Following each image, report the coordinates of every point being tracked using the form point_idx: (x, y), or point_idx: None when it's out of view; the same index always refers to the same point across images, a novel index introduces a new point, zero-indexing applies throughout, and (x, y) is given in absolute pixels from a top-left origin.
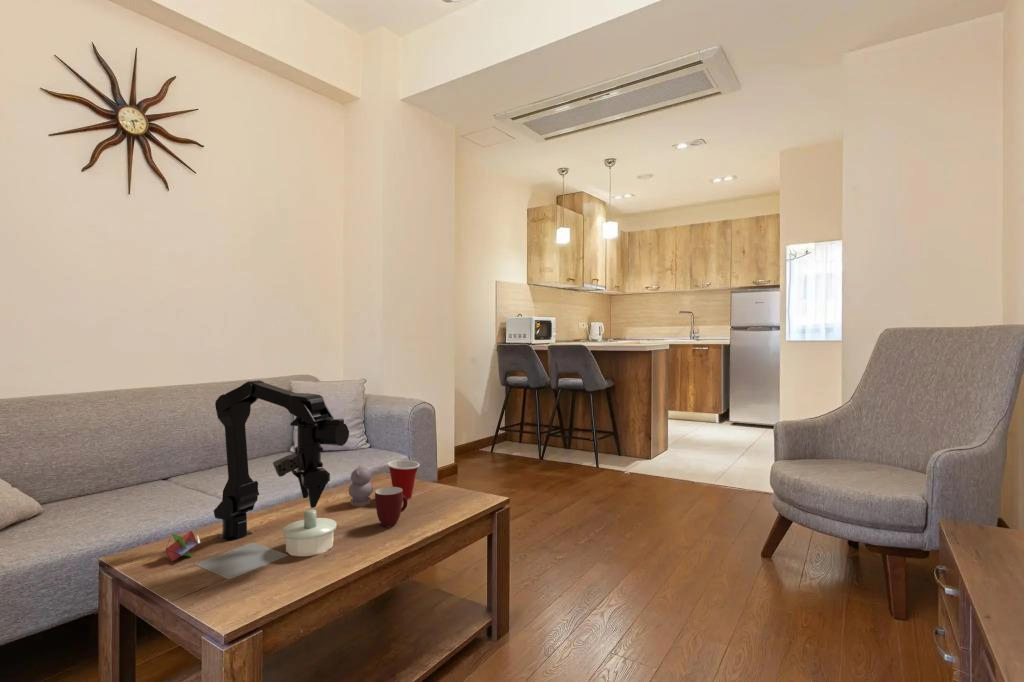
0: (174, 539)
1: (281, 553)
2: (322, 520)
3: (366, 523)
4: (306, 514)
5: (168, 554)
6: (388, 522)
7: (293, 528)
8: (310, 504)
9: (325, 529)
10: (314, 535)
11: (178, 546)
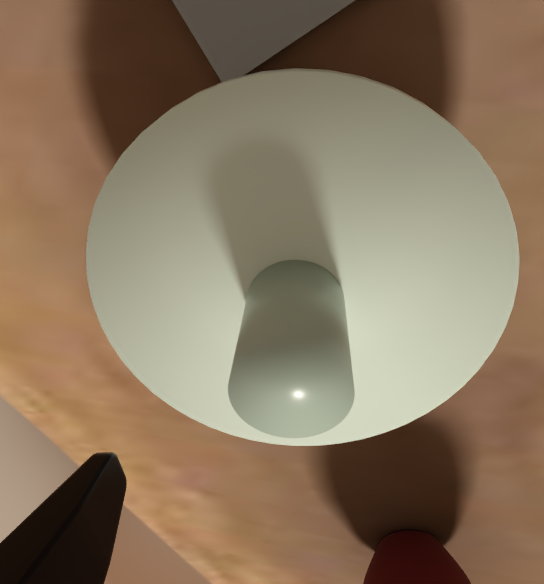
0: None
1: (277, 38)
2: (389, 389)
3: (493, 496)
4: (244, 350)
5: None
6: (371, 562)
7: (323, 177)
8: (59, 487)
9: (180, 376)
10: (95, 301)
11: None
